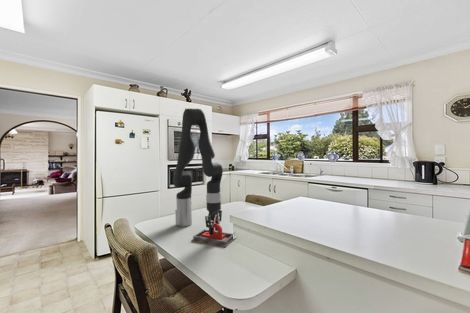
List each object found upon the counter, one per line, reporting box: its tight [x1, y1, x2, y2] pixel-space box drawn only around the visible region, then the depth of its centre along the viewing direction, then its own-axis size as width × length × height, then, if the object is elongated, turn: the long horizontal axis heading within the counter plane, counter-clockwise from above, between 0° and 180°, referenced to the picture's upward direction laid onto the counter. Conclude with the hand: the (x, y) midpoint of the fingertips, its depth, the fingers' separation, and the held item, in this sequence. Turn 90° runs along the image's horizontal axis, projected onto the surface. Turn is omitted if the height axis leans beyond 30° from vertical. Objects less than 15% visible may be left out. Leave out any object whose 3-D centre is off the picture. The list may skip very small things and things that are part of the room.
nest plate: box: [191, 229, 235, 248], centre depth 117 cm, size 20×13×2 cm, turn 66°
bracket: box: [202, 223, 225, 240], centre depth 119 cm, size 12×4×8 cm, turn 65°
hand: (214, 232), depth 117 cm, fingers open, 5 cm apart
